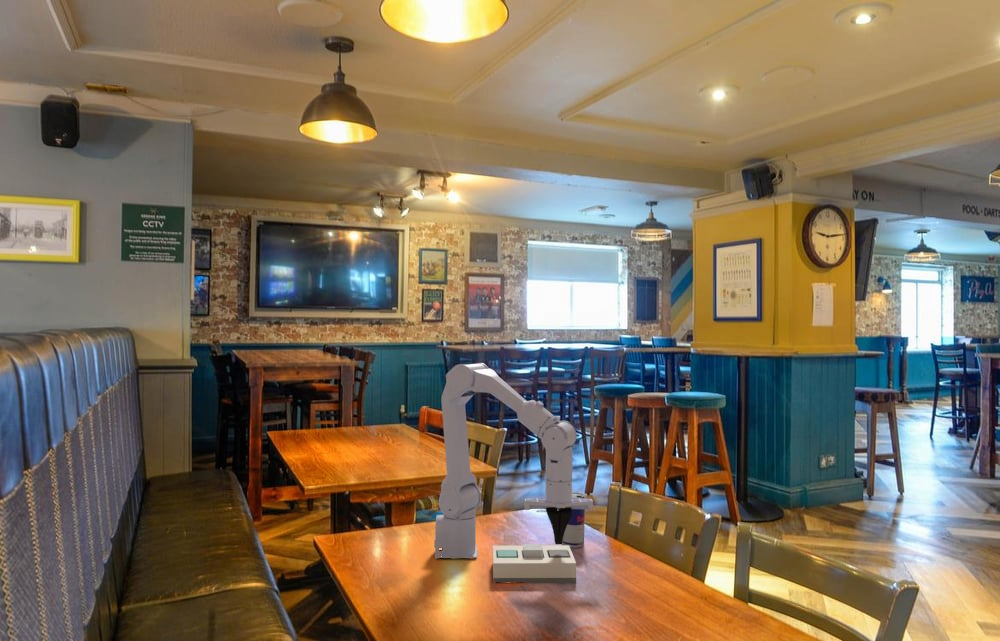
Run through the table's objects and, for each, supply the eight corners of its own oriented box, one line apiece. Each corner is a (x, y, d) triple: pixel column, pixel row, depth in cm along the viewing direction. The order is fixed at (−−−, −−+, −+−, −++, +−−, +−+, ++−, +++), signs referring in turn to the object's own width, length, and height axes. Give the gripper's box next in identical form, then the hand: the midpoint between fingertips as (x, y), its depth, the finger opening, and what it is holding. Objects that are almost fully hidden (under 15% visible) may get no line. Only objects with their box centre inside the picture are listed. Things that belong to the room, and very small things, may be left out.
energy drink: (584, 549, 154) (585, 498, 154) (561, 547, 154) (562, 496, 155) (583, 542, 159) (585, 492, 159) (561, 540, 160) (563, 491, 160)
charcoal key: (550, 571, 137) (550, 556, 137) (548, 564, 141) (548, 549, 141) (569, 571, 137) (569, 556, 137) (566, 564, 141) (566, 549, 141)
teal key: (497, 571, 137) (498, 556, 137) (497, 564, 141) (497, 549, 141) (516, 571, 137) (517, 556, 137) (515, 564, 141) (516, 549, 141)
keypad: (493, 582, 133) (493, 563, 133) (492, 563, 144) (492, 545, 144) (576, 582, 133) (576, 563, 133) (569, 563, 144) (569, 545, 144)
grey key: (524, 565, 137) (524, 550, 137) (522, 558, 141) (523, 543, 141) (543, 565, 137) (543, 550, 137) (541, 558, 141) (541, 543, 141)
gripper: (526, 483, 135) (525, 549, 135) (595, 483, 135) (595, 549, 135) (524, 475, 142) (523, 538, 142) (590, 476, 142) (589, 538, 142)
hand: (558, 542), depth 139 cm, fingers closed
